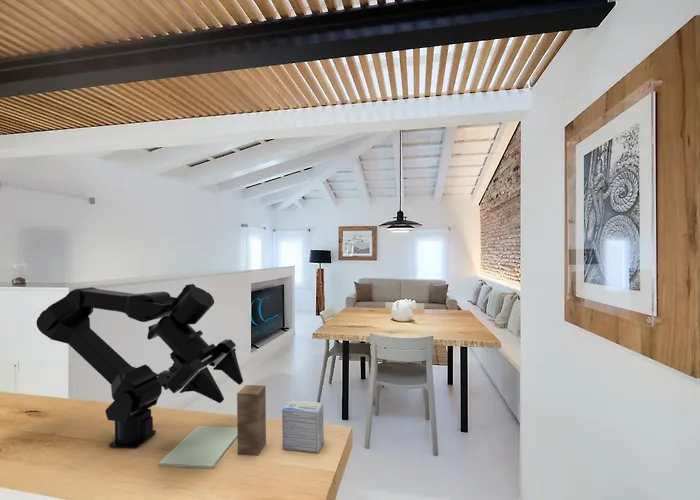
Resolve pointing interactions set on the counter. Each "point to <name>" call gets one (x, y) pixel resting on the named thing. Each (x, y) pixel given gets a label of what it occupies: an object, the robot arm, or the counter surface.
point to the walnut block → (251, 420)
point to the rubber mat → (201, 448)
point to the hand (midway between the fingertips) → (232, 391)
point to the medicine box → (302, 426)
